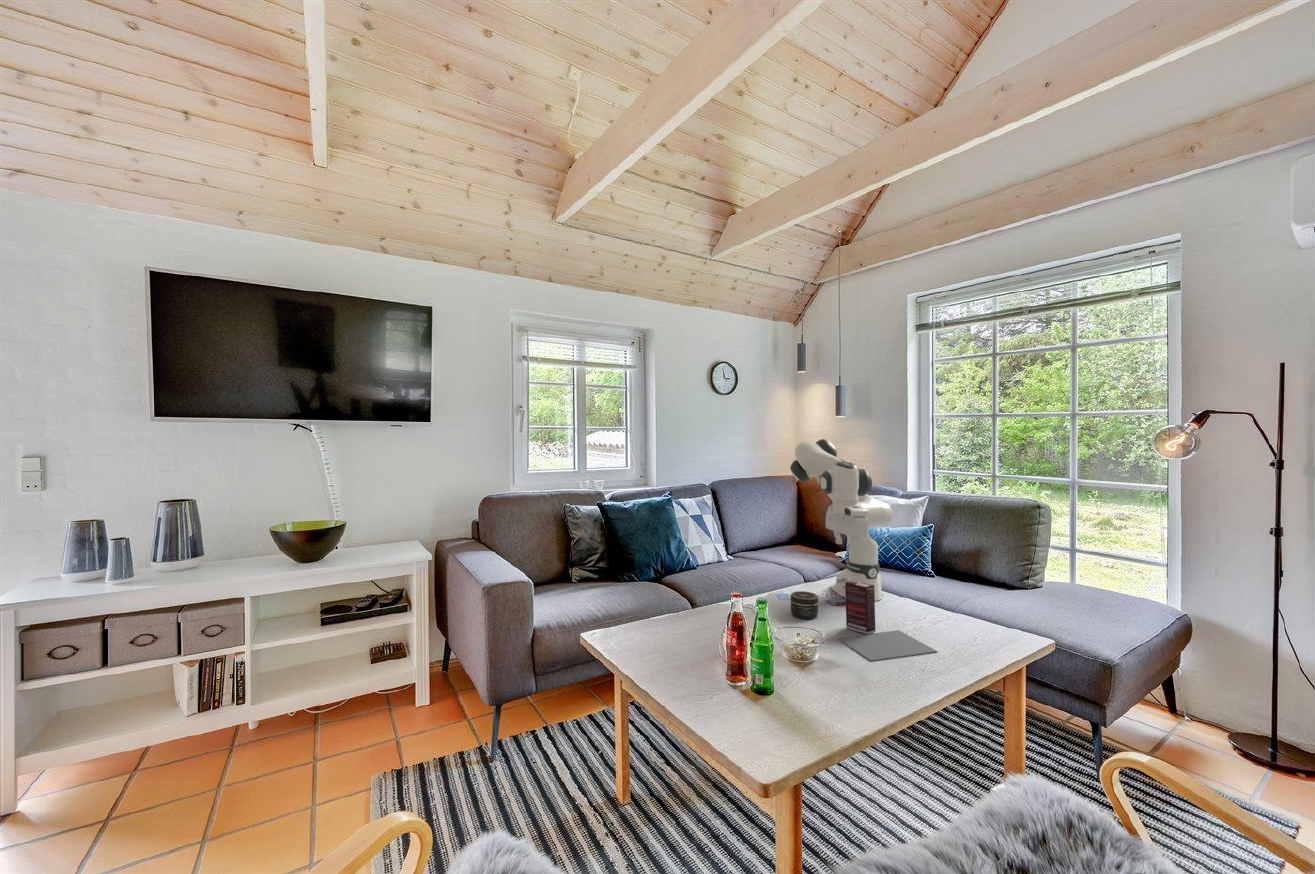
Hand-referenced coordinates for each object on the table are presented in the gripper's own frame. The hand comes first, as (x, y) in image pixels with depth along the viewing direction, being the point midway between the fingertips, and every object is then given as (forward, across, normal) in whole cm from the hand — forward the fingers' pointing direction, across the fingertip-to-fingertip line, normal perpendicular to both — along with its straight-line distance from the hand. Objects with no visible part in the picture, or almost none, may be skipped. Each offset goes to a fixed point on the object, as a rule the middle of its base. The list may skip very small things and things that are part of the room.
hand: (845, 546), depth 187 cm
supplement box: (+27, +9, 0) cm, 29 cm away
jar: (+27, -9, -11) cm, 31 cm away
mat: (+27, +22, 0) cm, 35 cm away
